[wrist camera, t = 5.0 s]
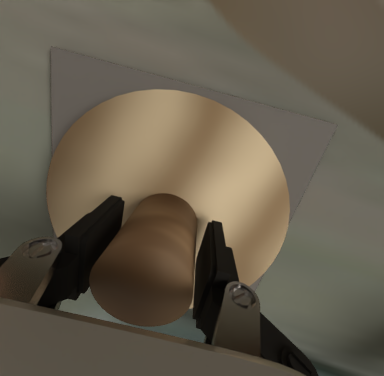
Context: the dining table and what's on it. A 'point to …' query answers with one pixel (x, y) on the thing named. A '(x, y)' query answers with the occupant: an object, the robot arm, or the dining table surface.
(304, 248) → the dining table surface
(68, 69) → the mat
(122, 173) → the lid
